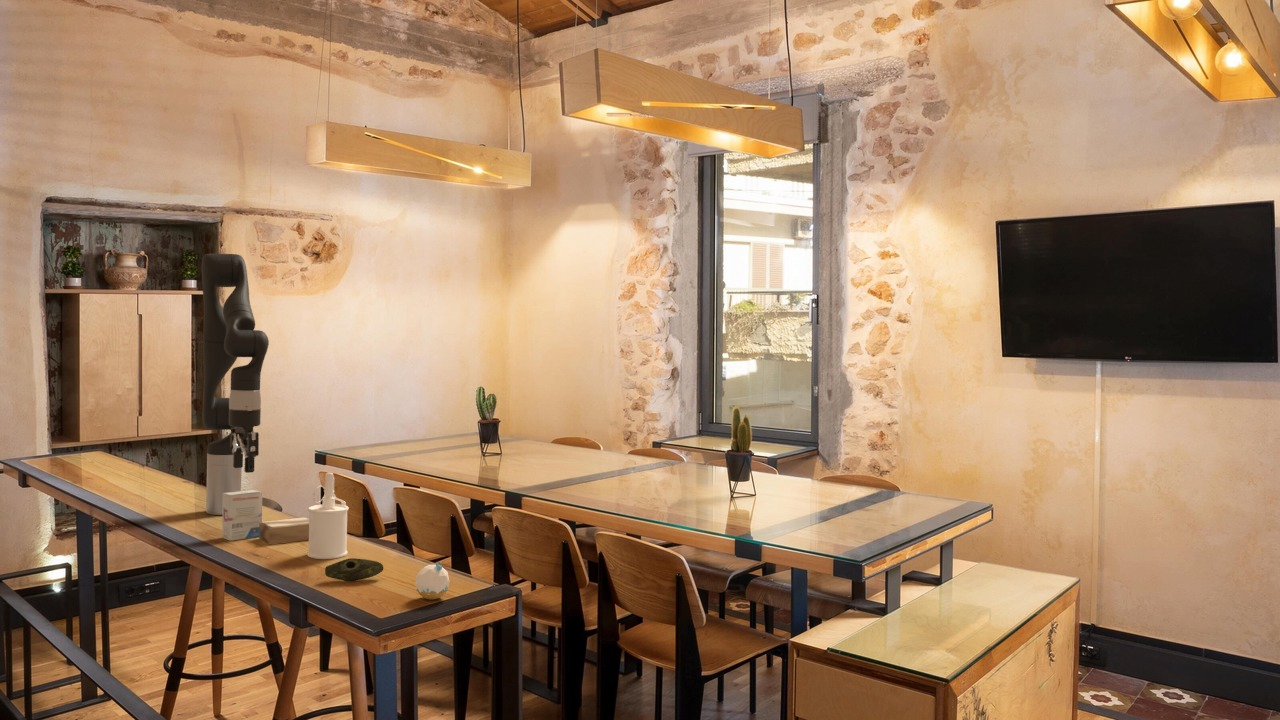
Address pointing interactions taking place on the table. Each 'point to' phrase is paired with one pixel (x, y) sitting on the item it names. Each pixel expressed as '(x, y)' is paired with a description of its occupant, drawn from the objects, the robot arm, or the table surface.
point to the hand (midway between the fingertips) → (243, 470)
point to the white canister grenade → (328, 524)
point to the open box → (284, 530)
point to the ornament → (432, 581)
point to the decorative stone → (353, 569)
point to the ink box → (241, 514)
